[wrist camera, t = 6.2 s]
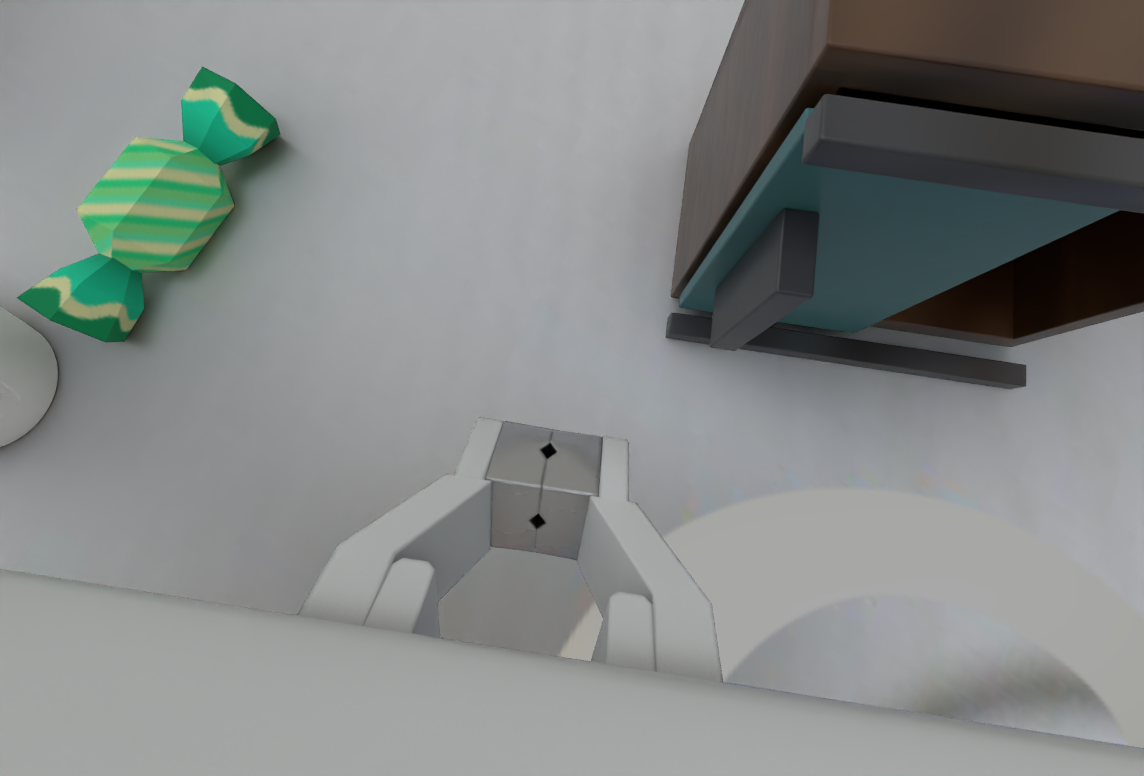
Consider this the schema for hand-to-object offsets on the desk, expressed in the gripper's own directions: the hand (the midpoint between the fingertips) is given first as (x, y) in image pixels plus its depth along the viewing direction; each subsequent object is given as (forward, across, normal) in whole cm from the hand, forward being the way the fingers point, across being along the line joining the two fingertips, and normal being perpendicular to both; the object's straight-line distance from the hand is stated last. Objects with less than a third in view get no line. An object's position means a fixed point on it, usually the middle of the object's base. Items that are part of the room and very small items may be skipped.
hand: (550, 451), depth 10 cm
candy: (+14, +19, +3) cm, 24 cm away
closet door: (+12, -8, +3) cm, 15 cm away
